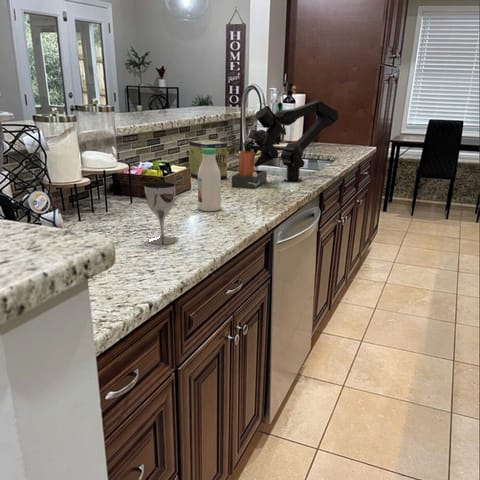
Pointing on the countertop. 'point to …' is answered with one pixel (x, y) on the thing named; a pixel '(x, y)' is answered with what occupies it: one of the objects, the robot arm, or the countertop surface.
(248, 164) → the tumbler
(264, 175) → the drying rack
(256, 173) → the pacifier
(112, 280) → the countertop surface
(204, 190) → the milk bottle
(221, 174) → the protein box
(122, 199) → the countertop surface
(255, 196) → the countertop surface
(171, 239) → the wine glass
